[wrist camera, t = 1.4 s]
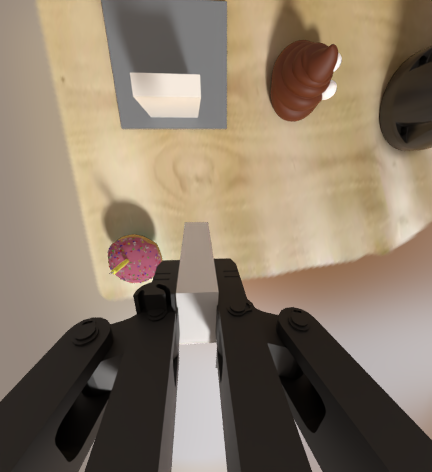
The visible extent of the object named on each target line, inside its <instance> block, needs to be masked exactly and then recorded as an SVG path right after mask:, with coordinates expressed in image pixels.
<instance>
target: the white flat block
mask: <svg viewBox="0 0 432 472" xmlns="http://www.w3.org/2000/svg"><path fill="white" fill-rule="evenodd" d="M130 77H131V85H132V92H133V97H134V98H135V99H136V100H137V101H138V103H139V104H140V105H141V106H142V107H143V108H144V110H145V111H146V112H147V113H148V114H149V115H150V117H173V118H198V113H199V107H200V100H201V85H200V75H198V74H164V73H130Z"/></svg>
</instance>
